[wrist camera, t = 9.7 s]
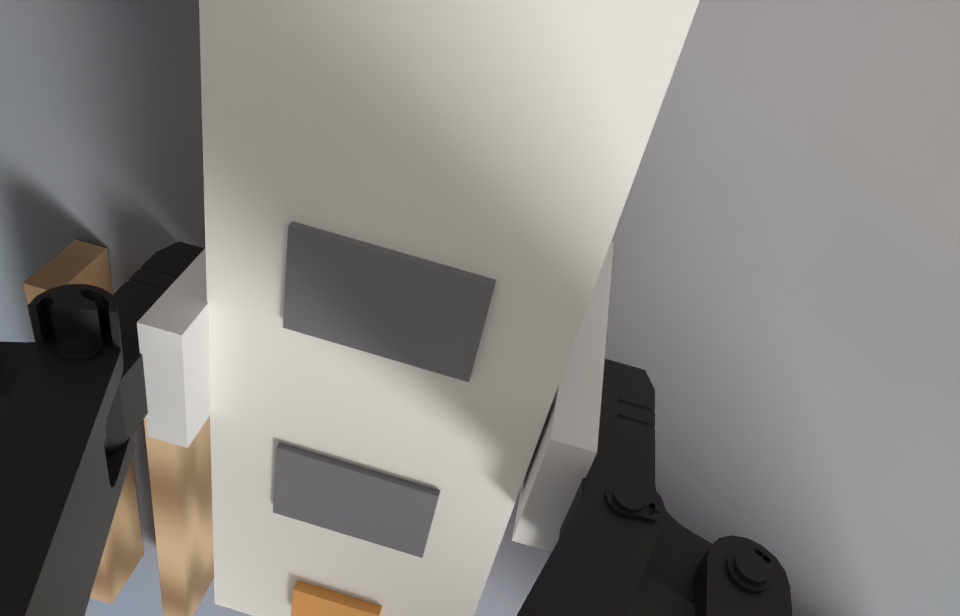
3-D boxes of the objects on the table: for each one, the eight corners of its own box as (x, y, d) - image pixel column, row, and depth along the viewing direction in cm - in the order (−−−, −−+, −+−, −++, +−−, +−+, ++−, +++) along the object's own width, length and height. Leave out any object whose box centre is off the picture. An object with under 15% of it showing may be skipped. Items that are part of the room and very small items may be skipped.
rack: (215, 575, 32) (187, 626, 30) (121, 547, 32) (88, 597, 30) (208, 276, 23) (168, 324, 21) (75, 239, 23) (23, 282, 21)
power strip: (504, 453, 24) (448, 687, 18) (325, 400, 24) (209, 612, 18) (687, -99, 14) (702, -1, 8) (386, -179, 15) (184, -139, 8)
